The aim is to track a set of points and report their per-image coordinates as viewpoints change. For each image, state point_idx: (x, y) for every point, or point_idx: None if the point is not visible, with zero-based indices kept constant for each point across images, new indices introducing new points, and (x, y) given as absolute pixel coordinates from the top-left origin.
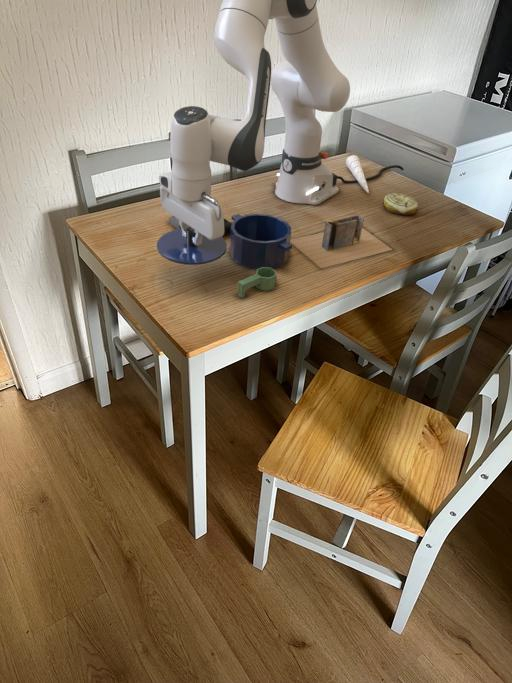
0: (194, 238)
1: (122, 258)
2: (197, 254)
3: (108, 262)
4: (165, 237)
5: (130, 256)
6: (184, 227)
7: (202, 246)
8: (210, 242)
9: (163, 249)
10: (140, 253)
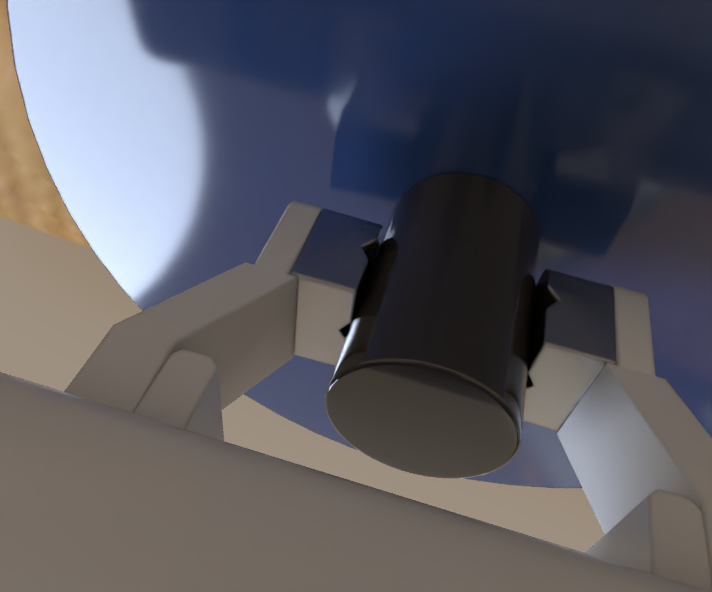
0: (559, 431)
1: (28, 157)
2: (672, 366)
3: (44, 225)
4: (146, 269)
5: (21, 113)
6: (252, 364)
7: (627, 202)
8: (697, 16)
9: (324, 412)
10: (2, 41)
